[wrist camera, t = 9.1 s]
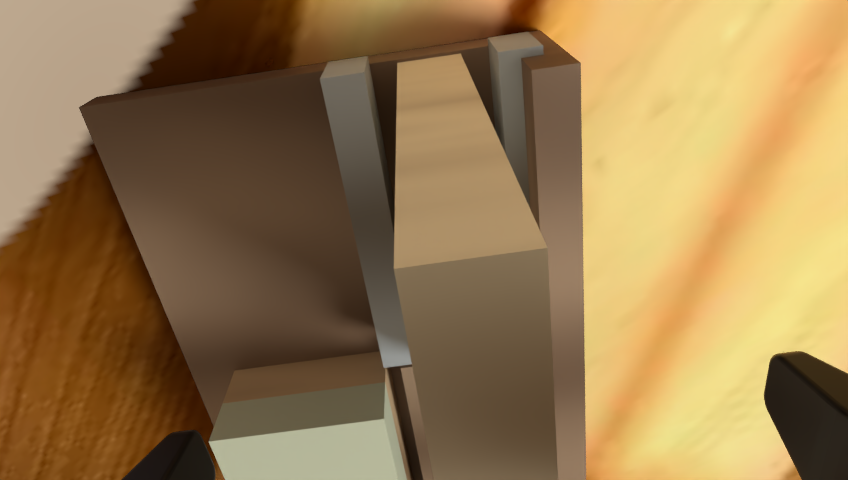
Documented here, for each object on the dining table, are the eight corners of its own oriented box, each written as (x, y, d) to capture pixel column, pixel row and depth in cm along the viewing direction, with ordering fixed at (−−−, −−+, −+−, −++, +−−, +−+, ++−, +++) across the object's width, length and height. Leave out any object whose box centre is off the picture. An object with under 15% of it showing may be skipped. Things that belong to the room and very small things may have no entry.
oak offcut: (420, 512, 23) (422, 548, 22) (293, 528, 23) (287, 564, 22) (386, 350, 19) (385, 382, 18) (234, 370, 19) (222, 403, 18)
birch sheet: (488, 313, 19) (566, 663, 10) (437, 319, 19) (470, 673, 10) (460, 53, 15) (547, 247, 6) (397, 62, 15) (394, 268, 6)
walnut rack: (559, 476, 24) (587, 573, 20) (264, 513, 24) (242, 614, 21) (539, 22, 16) (580, 52, 12) (93, 89, 16) (7, 138, 12)
